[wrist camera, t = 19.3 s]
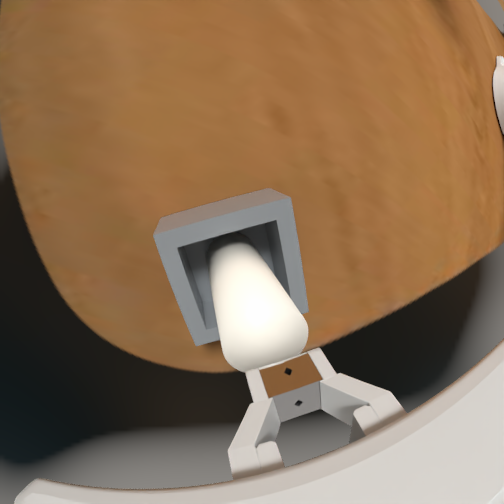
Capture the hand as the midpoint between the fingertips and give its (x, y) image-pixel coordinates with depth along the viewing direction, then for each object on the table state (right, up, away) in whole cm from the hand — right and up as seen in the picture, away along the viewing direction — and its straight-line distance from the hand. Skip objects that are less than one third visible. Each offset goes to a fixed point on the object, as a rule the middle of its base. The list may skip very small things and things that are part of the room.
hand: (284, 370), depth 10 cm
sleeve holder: (-3, +4, +13) cm, 14 cm away
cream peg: (-3, +4, +12) cm, 13 cm away
